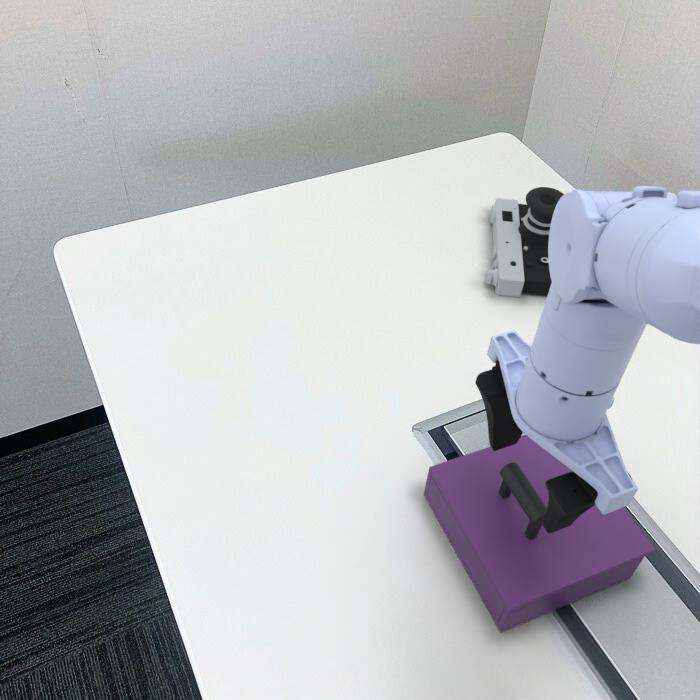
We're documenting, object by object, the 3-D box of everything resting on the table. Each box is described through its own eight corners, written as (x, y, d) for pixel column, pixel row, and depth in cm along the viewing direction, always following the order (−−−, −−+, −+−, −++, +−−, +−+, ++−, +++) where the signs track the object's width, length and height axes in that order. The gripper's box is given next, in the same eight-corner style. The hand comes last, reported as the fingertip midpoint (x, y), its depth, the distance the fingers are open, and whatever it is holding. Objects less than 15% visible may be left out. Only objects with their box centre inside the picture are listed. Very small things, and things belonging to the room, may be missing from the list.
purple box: (541, 453, 69) (551, 429, 67) (630, 578, 61) (644, 557, 58) (423, 494, 66) (428, 471, 63) (500, 633, 57) (509, 612, 55)
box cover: (558, 426, 67) (571, 395, 64) (653, 553, 59) (673, 523, 55) (428, 470, 63) (434, 439, 60) (509, 612, 55) (522, 584, 52)
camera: (591, 253, 79) (495, 243, 79) (573, 302, 84) (483, 293, 84) (576, 171, 89) (491, 163, 90) (561, 219, 94) (481, 212, 95)
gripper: (706, 430, 43) (631, 547, 53) (564, 274, 52) (523, 398, 62) (605, 467, 41) (547, 581, 51) (476, 297, 50) (448, 422, 60)
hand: (528, 483), depth 57 cm, fingers open, 7 cm apart
